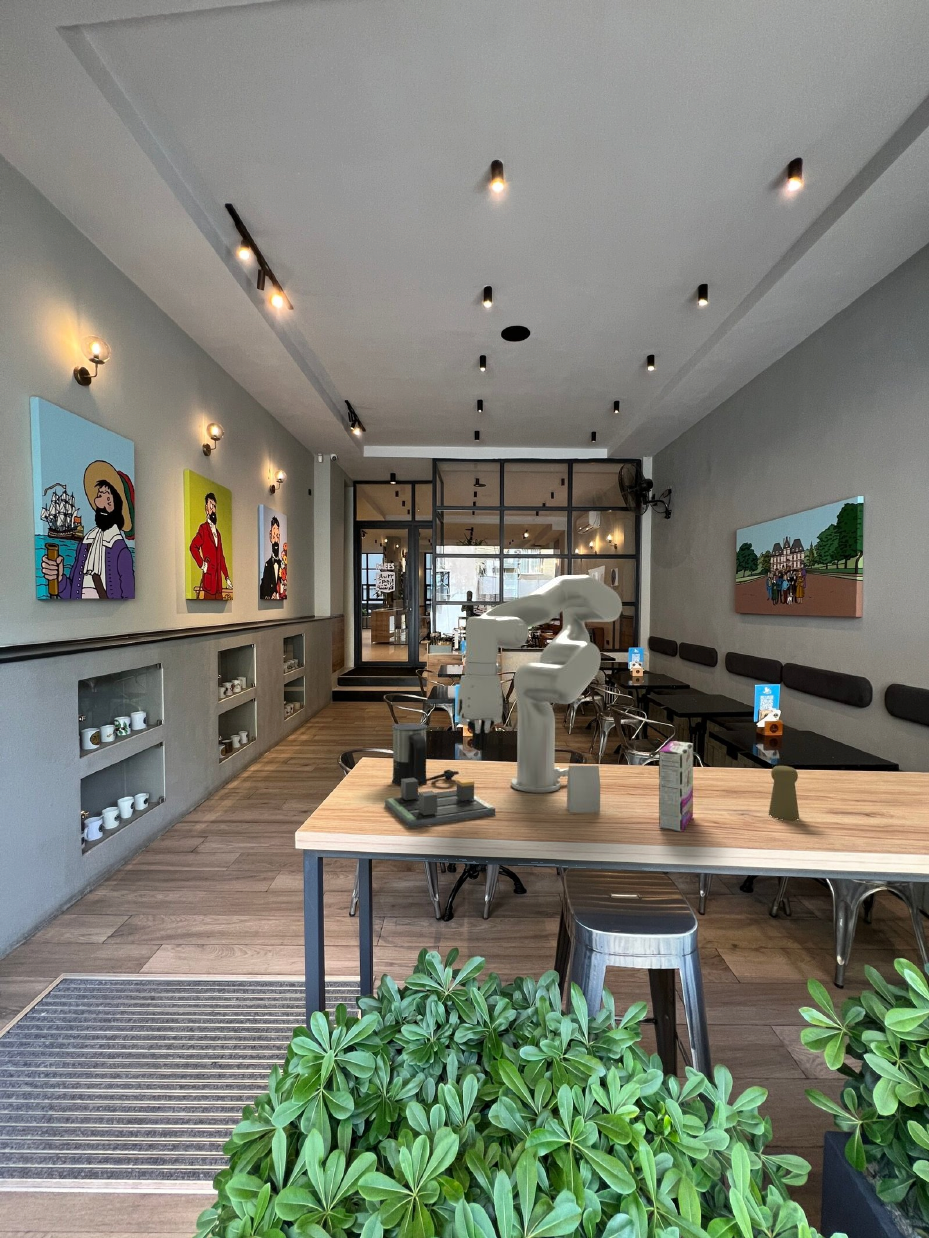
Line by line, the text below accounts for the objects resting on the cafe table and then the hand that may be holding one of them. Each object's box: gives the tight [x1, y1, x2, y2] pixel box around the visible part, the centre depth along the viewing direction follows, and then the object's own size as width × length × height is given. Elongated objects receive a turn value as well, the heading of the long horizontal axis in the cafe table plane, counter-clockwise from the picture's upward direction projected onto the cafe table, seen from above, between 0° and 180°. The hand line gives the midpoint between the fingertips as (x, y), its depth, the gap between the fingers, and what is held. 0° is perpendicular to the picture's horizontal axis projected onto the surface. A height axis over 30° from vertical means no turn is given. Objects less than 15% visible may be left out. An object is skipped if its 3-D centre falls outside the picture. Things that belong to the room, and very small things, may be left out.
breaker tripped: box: [456, 777, 475, 801], centre depth 138 cm, size 3×3×4 cm
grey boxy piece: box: [566, 765, 601, 814], centre depth 137 cm, size 4×7×10 cm, turn 91°
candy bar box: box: [658, 740, 694, 833], centre depth 129 cm, size 11×5×16 cm, turn 148°
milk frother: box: [391, 722, 460, 787], centre depth 158 cm, size 14×16×15 cm
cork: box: [768, 765, 800, 822], centre depth 134 cm, size 6×6×11 cm
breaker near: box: [418, 790, 437, 815], centre depth 128 cm, size 3×3×4 cm
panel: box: [384, 789, 496, 829], centre depth 136 cm, size 20×16×2 cm
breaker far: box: [400, 778, 419, 800], centre depth 138 cm, size 3×3×4 cm
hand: (479, 749), depth 140 cm, fingers closed
